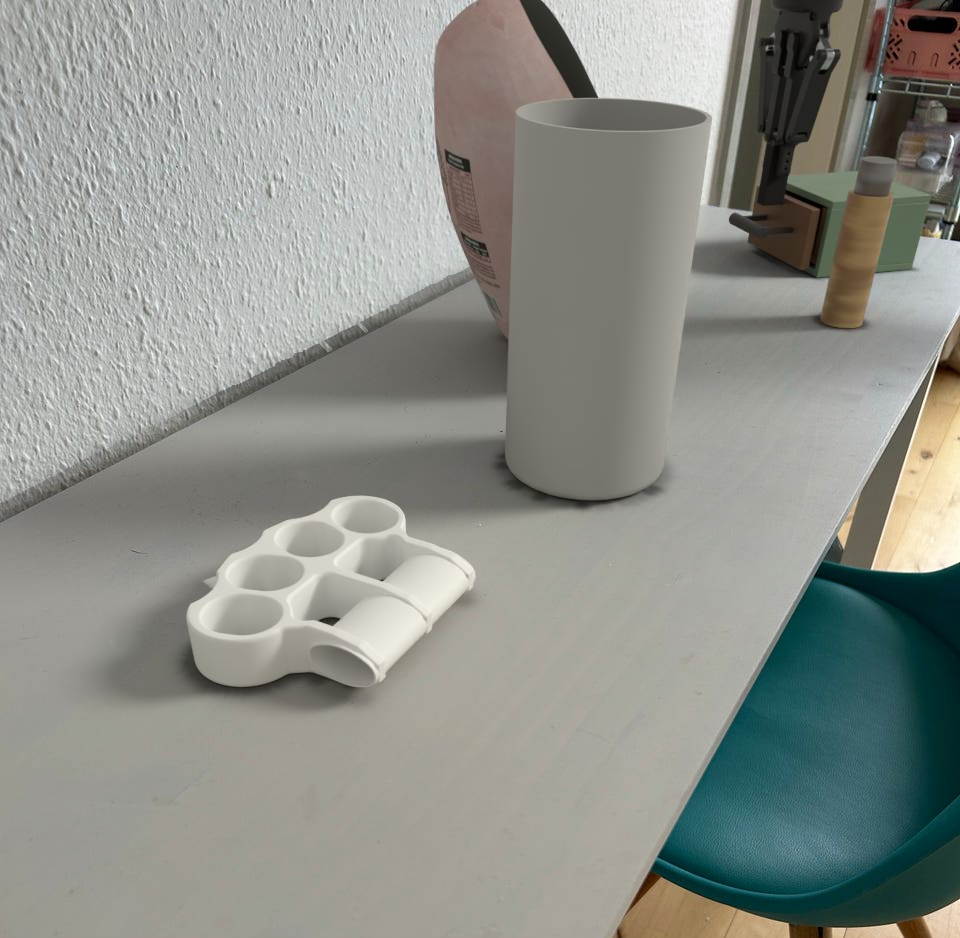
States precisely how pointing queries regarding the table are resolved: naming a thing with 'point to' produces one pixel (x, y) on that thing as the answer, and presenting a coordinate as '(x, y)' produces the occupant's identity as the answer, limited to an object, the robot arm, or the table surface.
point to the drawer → (785, 228)
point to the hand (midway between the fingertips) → (769, 203)
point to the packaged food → (494, 122)
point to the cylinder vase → (599, 289)
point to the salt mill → (859, 243)
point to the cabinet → (833, 194)
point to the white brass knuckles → (324, 598)
